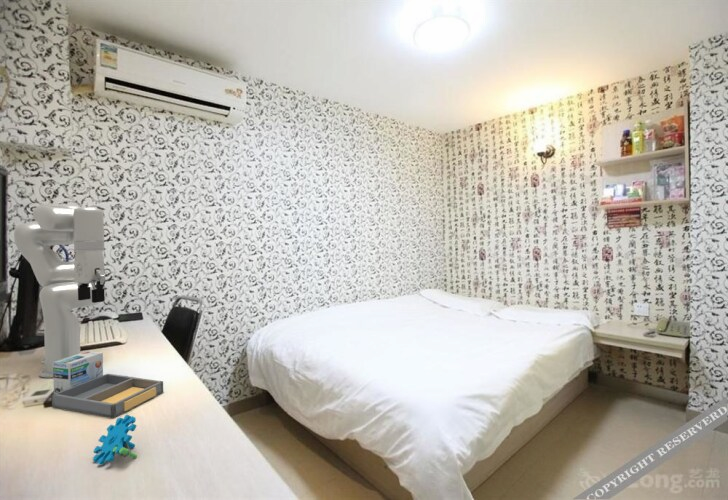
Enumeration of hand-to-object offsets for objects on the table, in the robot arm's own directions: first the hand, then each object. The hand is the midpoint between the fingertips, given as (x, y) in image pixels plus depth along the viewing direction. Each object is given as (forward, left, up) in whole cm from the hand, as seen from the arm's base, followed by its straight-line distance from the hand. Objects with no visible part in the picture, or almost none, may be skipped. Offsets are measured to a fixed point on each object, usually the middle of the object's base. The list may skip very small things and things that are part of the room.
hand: (91, 300), depth 110 cm
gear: (+41, -25, -28) cm, 55 cm away
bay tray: (+14, -5, -28) cm, 31 cm away
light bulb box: (-1, -3, -28) cm, 28 cm away
